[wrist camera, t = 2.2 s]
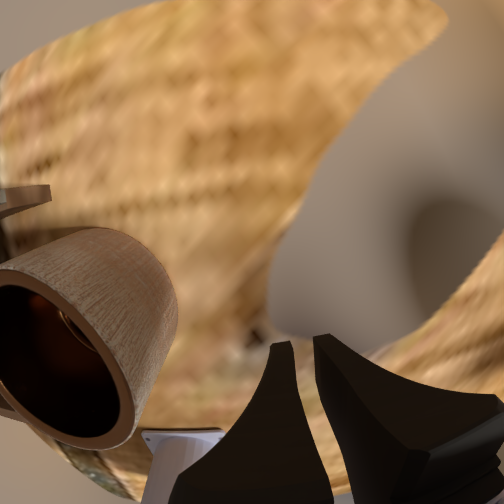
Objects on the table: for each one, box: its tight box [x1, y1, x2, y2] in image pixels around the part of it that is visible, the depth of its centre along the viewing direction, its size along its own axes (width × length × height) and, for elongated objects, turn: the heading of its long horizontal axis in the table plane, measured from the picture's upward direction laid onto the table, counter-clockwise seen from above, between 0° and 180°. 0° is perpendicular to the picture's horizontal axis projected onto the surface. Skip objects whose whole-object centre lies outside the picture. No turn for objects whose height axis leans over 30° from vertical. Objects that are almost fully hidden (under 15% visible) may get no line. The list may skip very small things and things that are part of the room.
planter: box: [0, 228, 178, 450], centre depth 15 cm, size 11×11×10 cm
